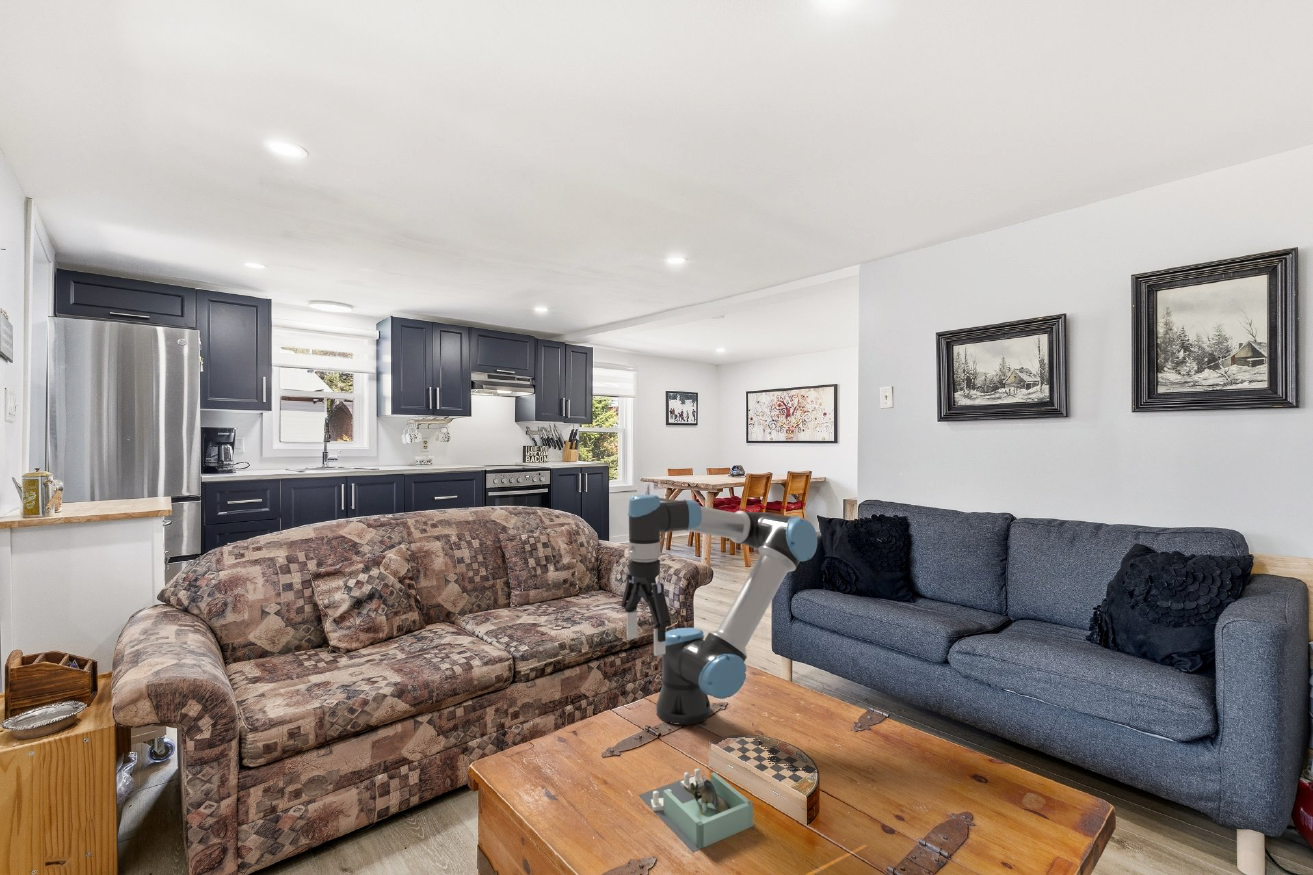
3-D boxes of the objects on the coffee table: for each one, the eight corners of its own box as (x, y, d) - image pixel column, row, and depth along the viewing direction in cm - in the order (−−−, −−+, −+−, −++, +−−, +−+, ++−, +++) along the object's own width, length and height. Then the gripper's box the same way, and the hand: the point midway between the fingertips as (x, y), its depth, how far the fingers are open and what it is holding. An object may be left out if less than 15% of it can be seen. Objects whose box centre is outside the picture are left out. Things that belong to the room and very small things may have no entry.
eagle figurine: (678, 807, 125) (714, 817, 119) (685, 769, 129) (720, 776, 123) (700, 814, 130) (735, 823, 124) (706, 776, 133) (741, 784, 127)
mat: (695, 776, 140) (695, 774, 140) (755, 826, 122) (755, 824, 122) (638, 796, 132) (638, 794, 132) (692, 854, 114) (692, 851, 114)
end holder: (714, 792, 133) (714, 772, 133) (753, 825, 122) (753, 803, 122) (663, 812, 126) (663, 790, 126) (699, 849, 115) (699, 825, 115)
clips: (696, 778, 138) (696, 765, 138) (713, 793, 133) (713, 779, 133) (641, 798, 131) (641, 784, 131) (657, 814, 125) (656, 800, 125)
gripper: (608, 551, 158) (608, 633, 158) (657, 570, 136) (658, 665, 136) (633, 548, 162) (634, 628, 162) (685, 566, 140) (686, 658, 140)
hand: (645, 645), depth 149 cm, fingers open, 13 cm apart
